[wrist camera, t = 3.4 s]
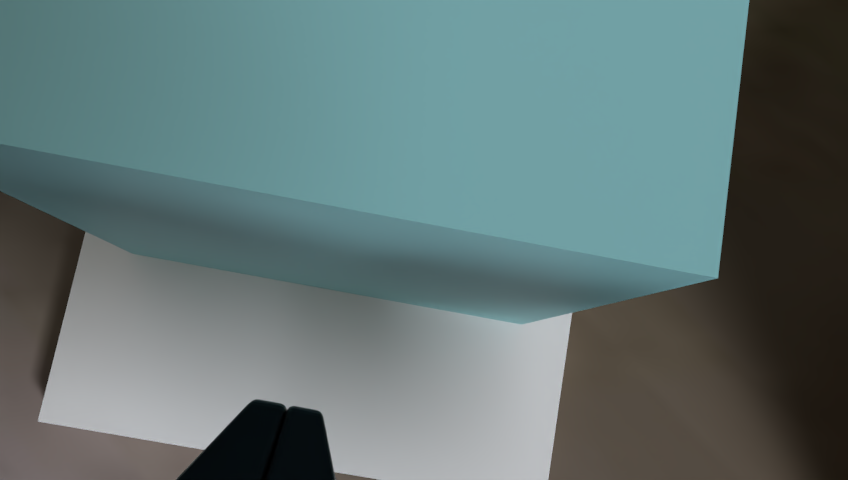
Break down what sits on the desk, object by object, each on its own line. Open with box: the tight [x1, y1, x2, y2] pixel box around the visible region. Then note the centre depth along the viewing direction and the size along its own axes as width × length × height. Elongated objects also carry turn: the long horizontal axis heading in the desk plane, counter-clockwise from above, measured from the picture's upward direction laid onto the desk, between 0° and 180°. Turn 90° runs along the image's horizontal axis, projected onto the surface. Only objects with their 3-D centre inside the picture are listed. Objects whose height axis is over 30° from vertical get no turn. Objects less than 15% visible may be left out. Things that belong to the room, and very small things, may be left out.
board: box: [38, 232, 572, 480], centre depth 17 cm, size 17×10×1 cm, turn 170°
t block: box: [0, 0, 749, 324], centre depth 12 cm, size 7×8×9 cm
